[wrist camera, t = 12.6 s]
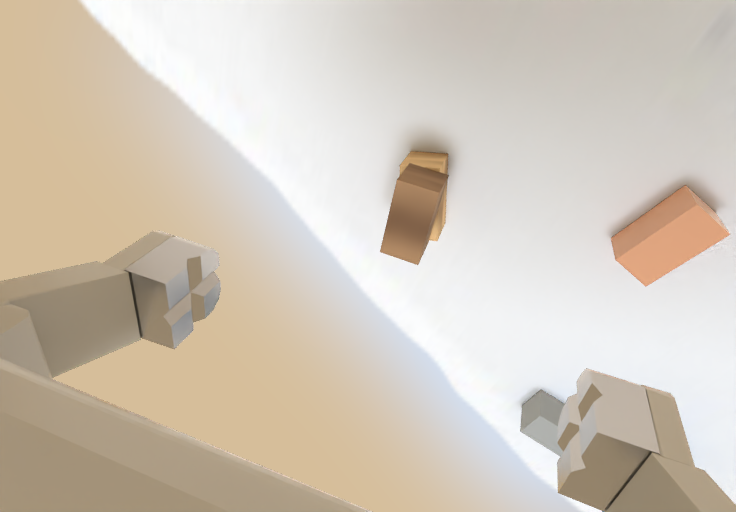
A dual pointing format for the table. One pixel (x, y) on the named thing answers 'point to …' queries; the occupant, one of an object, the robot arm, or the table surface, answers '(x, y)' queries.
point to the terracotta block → (667, 236)
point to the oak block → (437, 164)
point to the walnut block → (413, 212)
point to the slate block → (542, 420)
